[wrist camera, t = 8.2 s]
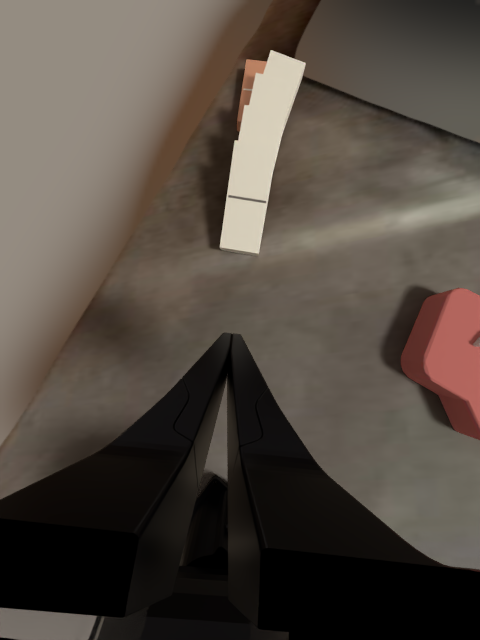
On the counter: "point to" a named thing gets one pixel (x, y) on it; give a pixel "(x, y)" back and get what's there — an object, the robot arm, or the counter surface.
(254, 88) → the domino
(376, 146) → the counter surface
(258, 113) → the domino
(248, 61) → the domino
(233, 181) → the domino
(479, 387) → the plaque
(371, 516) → the robot arm
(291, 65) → the domino
